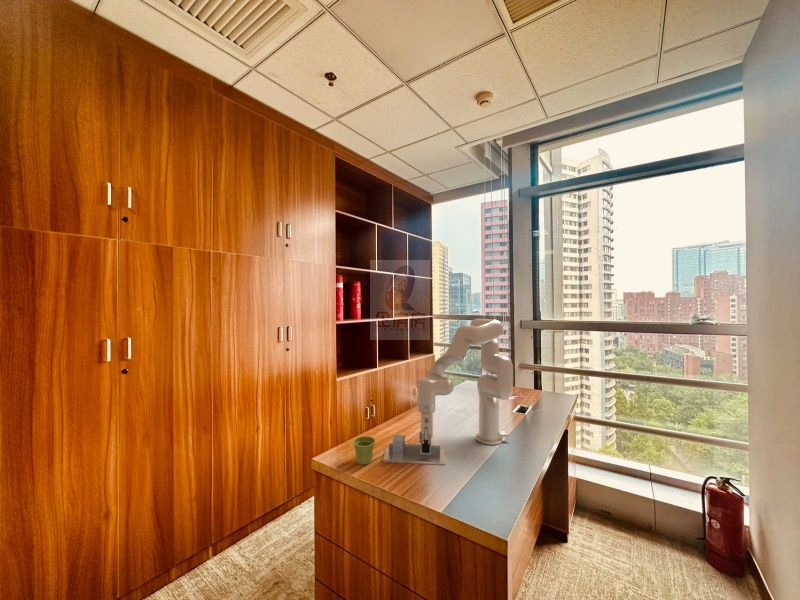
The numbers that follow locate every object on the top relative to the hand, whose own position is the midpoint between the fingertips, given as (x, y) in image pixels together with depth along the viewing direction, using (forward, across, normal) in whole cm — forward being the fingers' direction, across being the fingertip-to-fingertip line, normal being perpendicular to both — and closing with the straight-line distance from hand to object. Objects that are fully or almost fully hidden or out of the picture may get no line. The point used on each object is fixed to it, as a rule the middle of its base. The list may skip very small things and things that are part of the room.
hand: (425, 448), depth 136 cm
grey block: (+1, 0, 0) cm, 1 cm away
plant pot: (+4, -6, +26) cm, 27 cm away
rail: (+4, 0, +5) cm, 6 cm away
